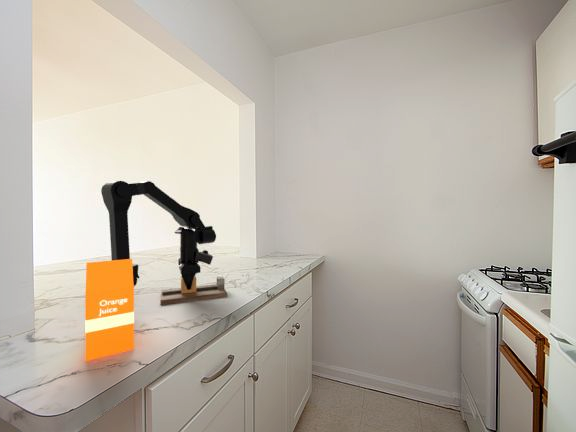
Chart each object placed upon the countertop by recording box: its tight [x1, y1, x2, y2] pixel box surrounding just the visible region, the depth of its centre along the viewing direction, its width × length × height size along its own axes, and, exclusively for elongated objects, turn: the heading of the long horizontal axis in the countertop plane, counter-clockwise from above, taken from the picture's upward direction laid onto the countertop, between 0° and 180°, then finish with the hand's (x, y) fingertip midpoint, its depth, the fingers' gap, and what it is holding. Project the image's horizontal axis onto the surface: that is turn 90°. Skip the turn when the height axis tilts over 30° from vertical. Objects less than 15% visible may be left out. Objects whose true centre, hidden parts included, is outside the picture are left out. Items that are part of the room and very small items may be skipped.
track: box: [160, 276, 228, 306], centre depth 97 cm, size 12×22×6 cm, turn 115°
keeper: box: [180, 275, 197, 294], centre depth 96 cm, size 4×5×5 cm
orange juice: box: [84, 258, 135, 362], centre depth 60 cm, size 8×9×20 cm
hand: (188, 287), depth 96 cm, fingers closed on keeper, 4 cm apart
